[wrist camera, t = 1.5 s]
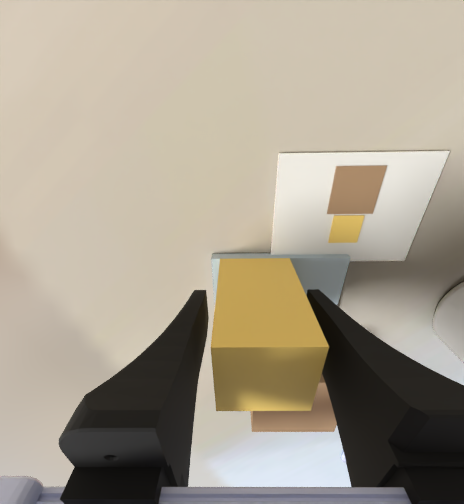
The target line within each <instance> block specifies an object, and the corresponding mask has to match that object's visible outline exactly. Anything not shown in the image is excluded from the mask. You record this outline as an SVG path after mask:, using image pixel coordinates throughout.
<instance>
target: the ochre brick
mask: <svg viewBox="0 0 464 504" xmlns="http://www.w3.org/2000/svg"><path fill="white" fill-rule="evenodd" d="M328 349H329V345H328V343H327V341H326V339H325V336H324V334H323V332H322V330H321V327H320V325H319V323H318V321H317V319H316V316H315V314H314V312H313V310H312V307H311V305H310V303H309V301H308V298H307V296H306V294H305V292H304V289H303V287H302V285H301V283H300V280H299V278H298V276H297V274H296V271H295V269H294V267H293V265H292V262H291V260H290V258H239V259H220V264H219V274H218V283H217V293H216V302H215V312H214V322H213V331H212V341H211V355H212V367H213V378H214V390H215V401H216V411H311V408H312V405H313V401H314V398H315V394H316V391H317V387H318V384H319V380H320V377H321V374H322V370H323V367H324V363H325V360H326V356H327V353H328Z"/></svg>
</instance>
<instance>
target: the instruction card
mask: <svg viewBox="0 0 464 504" xmlns="http://www.w3.org/2000/svg"><path fill="white" fill-rule="evenodd" d="M449 152H450V151H389V152H317V153H279V154H278V166H277V179H276V191H275V204H274V217H273V229H272V242H271V255H306V254H348V255H349V256H350V257H351V258H350V261H405V258H406V256H407V254H408V251H409V249H410V246H411V244H412V241H413V239H414V237H415V234H416V232H417V229H418V227H419V225H420V222H421V220H422V217H423V215H424V213H425V210H426V208H427V205H428V203H429V200H430V198H431V196H432V193H433V191H434V188H435V186H436V184H437V181H438V179H439V176H440V174H441V172H442V169H443V167H444V164H445V162H446V159H447V157H448V155H449Z"/></svg>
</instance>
